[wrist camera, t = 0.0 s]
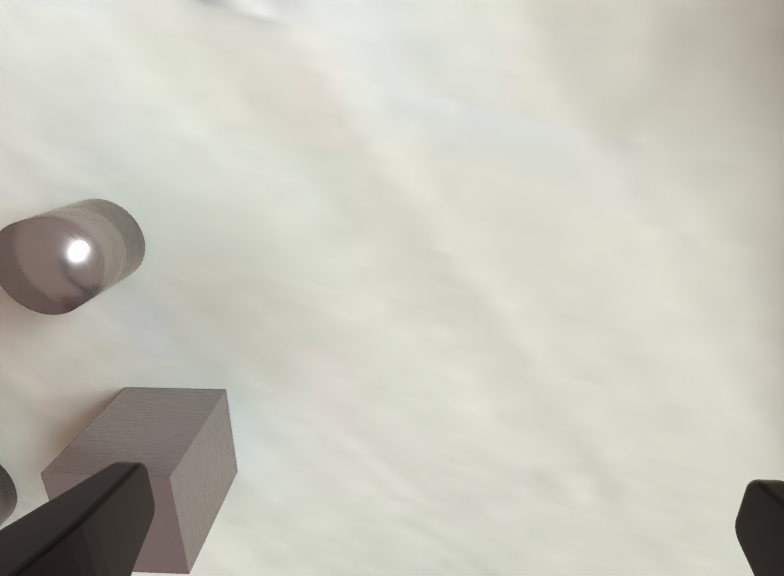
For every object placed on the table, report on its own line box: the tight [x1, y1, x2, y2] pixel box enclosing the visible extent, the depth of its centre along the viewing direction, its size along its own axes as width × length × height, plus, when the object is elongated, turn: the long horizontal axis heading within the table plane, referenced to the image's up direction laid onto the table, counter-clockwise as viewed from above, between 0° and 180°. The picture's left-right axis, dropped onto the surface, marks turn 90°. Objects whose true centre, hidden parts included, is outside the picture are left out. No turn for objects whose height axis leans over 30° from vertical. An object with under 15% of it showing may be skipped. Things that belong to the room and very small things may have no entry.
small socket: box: [0, 199, 145, 315], centre depth 20 cm, size 4×4×4 cm
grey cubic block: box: [41, 388, 237, 574], centre depth 23 cm, size 5×5×6 cm
